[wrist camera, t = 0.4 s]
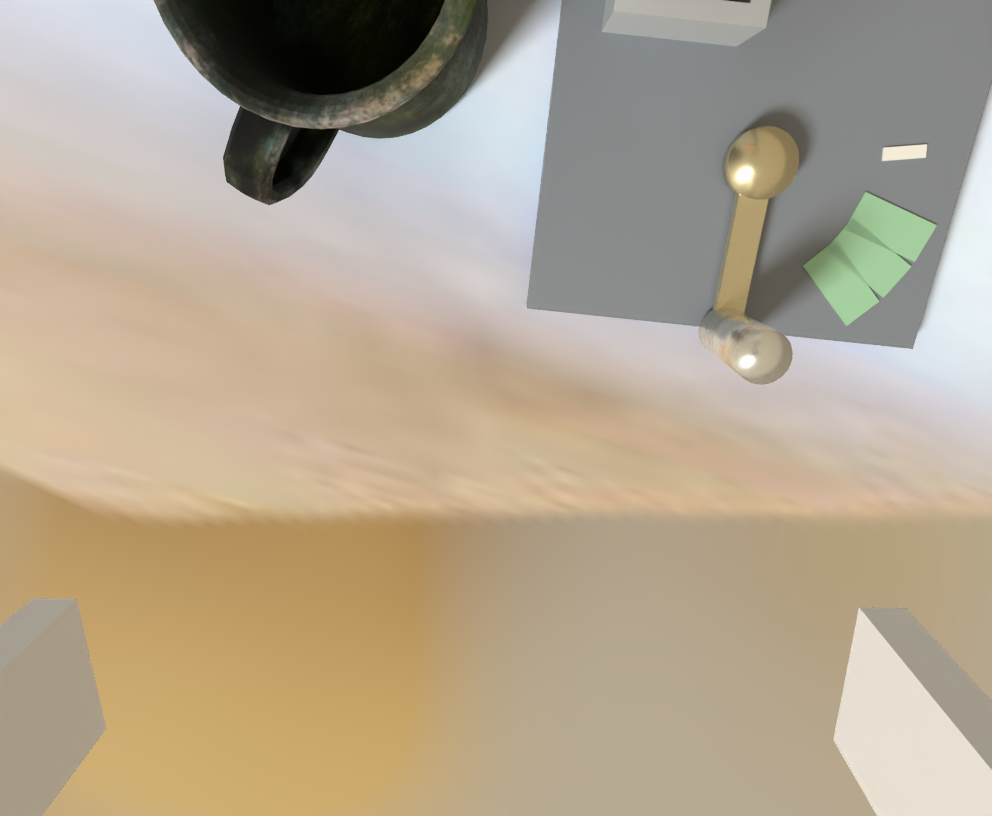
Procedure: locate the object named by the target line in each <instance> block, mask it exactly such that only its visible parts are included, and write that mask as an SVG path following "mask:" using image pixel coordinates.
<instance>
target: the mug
mask: <svg viewBox="0 0 992 816" xmlns="http://www.w3.org/2000/svg"><path fill="white" fill-rule="evenodd" d="M154 2H155V4H156V6H157V8H158V11H159V13H160V15H161V17H162V20H163V22H164V24H165V25H166V27H167V29H168V30H169V32H170V33H171V35H172V37H173V38H174V40H175V41H176V43H177V45H178V46H179V48H180V49H181V51H182V52H183V54H184V55H185V56H186V57H187V58H188V60H189V61H190V62H191V63H192V64H193V66H194V67H195V68H196V69H197V70H198V72H199V73H200V74H201V75H202V76H203V77H204V78H205V79H206V80H208V81H209V82H210V83H211V84H212V85H213V86H214V87H215V88H216V89H217V90H219V91H220V92H221V93H222V94H223V95H225V96H226V97H228V98H229V99H231V100H232V101H234V102H235V103H237V104H238V105H240V108H239V111H238V113H237V116H236V119H235V121H234V124H233V126H232V130H231V133H230V136H229V140H228V143H227V146H226V149H225V153H224V156H223V160H224V169H225V176H226V181H227V182H228V183H229V184H231V185H232V186H233V187H235V188H236V189H238V190H239V191H240V192H242V193H243V194H245V195H247V196H249V197H251V198H253V199H255V200H258V201H260V202H262V203H265V204H267V205H271V204H274V203H276V202H279V201H281V200H283V199H286V198H288V197H290V196H291V195H292V194H294V193H295V192H296V191H297V190H299V189H300V188H301V187H302V186H303V185H304V184H305V183H306V182H307V181H308V180H309V179H310V178H311V177H312V175H313V174H314V172H315V171H316V169H317V168H318V166H319V165H320V163H321V162H322V160H323V158H324V156H325V155H326V153H327V151H328V149H329V148H330V146H331V144H332V142H333V140H334V138H335V136H336V134H337V133H338V131H339V130H342V131H345V132H348V133H351V134H355V135H359V136H362V137H370V138H393V137H399V136H403V135H407V134H411V133H414V132H416V131H418V130H420V129H423V128H425V127H427V126H429V125H430V124H432V123H433V122H435V121H436V120H438V119H439V118H441V117H442V116H443V115H444V114H445V113H446V112H447V111H448V110H449V109H451V108H452V107H453V106H454V105H455V103H456V102H457V101H458V100H459V98H460V97H461V96H462V95H463V93H464V92H465V91H466V89H467V87H468V85H469V84H470V82H471V80H472V78H473V77H474V75H475V72H476V70H477V67H478V64H479V62H480V59H481V56H482V52H483V48H484V44H485V40H486V30H487V20H488V19H487V0H154Z"/></svg>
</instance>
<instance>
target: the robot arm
mask: <svg viewBox="0 0 992 816" xmlns="http://www.w3.org/2000/svg"><path fill="white" fill-rule="evenodd" d="M105 730H106V726H105V722H104V717H103V713H102V708H101V704H100V700H99V695H98V691H97V686H96V682H95V677H94V673H93V669H92V664H91V660H90V656H89V651H88V647H87V642H86V638H85V634H84V629H83V625H82V620H81V616H80V611H79V607H78V603H77V599H45V598H36V599H35V598H32V599H31V600H30V601H29V602H28V603H26V604H25V605H24V606H23V607H22V608H21V609H19V610H18V611H17V612H16V613H15V614H14V615H12V616H11V617H10V618H9V619H8V620H7V621H6V622H4V623H3V624H2V625H1V626H0V816H42V815H43V814H44V812H45V811H46V810H47V808H48V807H49V806H50V804H51V803H52V802H53V800H54V799H55V798H56V796H57V795H58V793H59V792H60V791H61V789H62V788H63V787H64V785H65V784H66V783H67V781H68V780H69V779H70V777H71V776H72V775H73V773H74V772H75V771H76V769H77V768H78V766H79V765H80V764H81V762H82V761H83V760H84V758H85V757H86V756H87V754H88V753H89V752H90V750H91V749H92V748H93V746H94V745H95V743H96V742H97V741H98V739H99V738H100V737H101V735H102V734H103V733H104V731H105ZM834 742H835V743H836V745H837V747H838V749H839V750H840V752H841V754H842V756H843V757H844V759H845V761H846V763H847V764H848V766H849V768H850V770H851V771H852V773H853V775H854V776H855V778H856V780H857V782H858V783H859V785H860V787H861V788H862V790H863V792H864V793H865V796H866V797H867V799H868V801H869V802H870V804H871V806H872V808H873V809H874V811H875V812H876V814H877V816H992V701H991V699H990V698H989V697H988V696H987V695H986V694H985V693H984V692H983V691H982V690H981V689H980V688H979V686H978V685H977V684H976V683H975V682H974V681H973V680H972V679H971V678H970V677H969V676H968V675H967V674H966V672H965V671H964V670H963V669H962V668H961V667H960V666H959V665H958V664H957V663H956V662H955V660H954V659H953V658H952V657H951V656H950V655H949V654H948V653H947V652H946V651H945V650H944V649H943V648H942V646H941V645H940V644H939V643H938V642H937V641H936V640H935V639H934V638H933V637H932V636H931V635H930V633H929V632H928V631H927V630H926V629H925V628H924V627H923V626H922V625H921V624H920V623H919V622H918V621H917V619H916V618H915V617H914V616H913V615H912V614H911V613H910V612H909V611H908V610H907V609H906V608H865V607H859V610H858V616H857V621H856V627H855V631H854V636H853V642H852V647H851V652H850V657H849V662H848V667H847V672H846V678H845V683H844V688H843V693H842V699H841V704H840V709H839V714H838V719H837V725H836V729H835V735H834Z"/></svg>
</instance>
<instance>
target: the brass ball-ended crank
mask: <svg viewBox="0 0 992 816" xmlns="http://www.w3.org/2000/svg"><path fill="white" fill-rule="evenodd" d="M798 166H799V151H798V147H797V145H796V143H795V141H794V139H793V138H792V137H791V135H789V134H788V133H787V132H786V131H784V130H783V129H781V128H778V127H774V126H762V127H758V128H754V129H750V130H748V131H745V132H743V133H742V134H740V135H739V136H737V137H736V138H735V139H734V140H733V141H732V143H731V144H730V145H729V147H728V149H727V150H726V153H725V155H724V159H723V165H722V171H723V176H724V180H725V182H726V184H727V186H728V187H729V189H730V190H731V191H732V192H733V193H735V199H734V204H733V209H732V214H731V219H730V224H729V230H728V235H727V240H726V245H725V250H724V255H723V260H722V265H721V270H720V275H719V280H718V285H717V290H716V295H715V300H714V305H713V309H712V310H711V311H709V312H708V313H707V314H706V315H705V316H704V317H703V319H702V321H701V323H700V326H699V338H700V341H701V342H702V344H703V345H704V346H705V347H706V348H707V349H708V350H709V351H711V352H712V353H713V354H714V355H715V356H717V357H718V358H719V359H720V360H722V361H723V362H724V363H725V364H727V365H728V366H729V367H730V368H732V369H733V370H734V371H735V372H736V373H738V374H739V375H740V376H741V377H743V378H744V379H745V380H747V381H748V382H751V383H754V384H768V383H771V382H774V381H776V380H777V379H779V378H780V377H781V376H783V375H784V374H785V372H786V371H787V370H788V368H789V366H790V364H791V361H792V347H791V344H790V342H789V340H788V339H787V338H786V337H785V336H784V335H783V334H781V333H780V332H778V331H776V330H774V329H772V328H770V327H768V326H767V325H765V324H763V323H761V322H759V321H757V320H755V319H753V318H751V317H750V316H748V315H746V314H744V311H745V307H746V302H747V297H748V293H749V288H750V283H751V279H752V274H753V269H754V265H755V260H756V255H757V251H758V246H759V241H760V237H761V232H762V227H763V223H764V218H765V213H766V209H767V204H768V199H769V198H772V197H775V196H776V195H778V194H780V193H781V192H783V191H784V190H785V189H786V188H787V187H788V186H789V185H790V184H791V182H792V181H793V179H794V177H795V175H796V173H797V170H798Z"/></svg>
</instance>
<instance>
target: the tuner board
mask: <svg viewBox="0 0 992 816" xmlns="http://www.w3.org/2000/svg"><path fill="white" fill-rule="evenodd" d="M991 82H992V0H562V5H561V14H560V22H559V31H558V40H557V48H556V57H555V66H554V74H553V83H552V92H551V100H550V109H549V117H548V126H547V135H546V143H545V152H544V161H543V169H542V178H541V187H540V195H539V204H538V212H537V221H536V230H535V238H534V247H533V256H532V264H531V273H530V282H529V290H528V299H527V308H529V309H538V310H548V311H557V312H567V313H576V314H586V315H595V316H605V317H614V318H624V319H633V320H643V321H653V322H662V323H672V324H681V325H691V326H700V323H701V321H702V319H703V317H704V316H705V315H706V314H707V313H708V312H709V311H711V310H712V309H713V305H714V300H715V295H716V290H717V285H718V280H719V275H720V270H721V265H722V260H723V255H724V250H725V245H726V240H727V235H728V230H729V224H730V219H731V214H732V209H733V204H734V199H735V193H733V192H732V191H731V190H730V189H729V187H728V186H727V184H726V182H725V180H724V176H723V171H722V165H723V159H724V155H725V153H726V150H727V149H728V147H729V145H730V144H731V143H732V141H733V140H734V139H735V138H736V137H737V136H739V135H740V134H742V133H743V132H745V131H748V130H750V129H754V128H758V127H762V126H774V127H778V128H781V129H783V130H784V131H786V132H787V133H788V134H789V135H791V137H792V138H793V139H794V141H795V143H796V145H797V147H798V151H799V166H798V170H797V173H796V175H795V177H794V179H793V181H792V182H791V184H790V185H789V186H788V187H787V188H786V189H785V190H784V191H783V192H781V193H780V194H778V195H776V196H775V197H772V198H769V199H768V204H767V209H766V213H765V218H764V223H763V227H762V232H761V237H760V241H759V246H758V251H757V255H756V260H755V265H754V269H753V274H752V279H751V283H750V288H749V293H748V297H747V302H746V307H745V311H744V314H746V315H748V316H750V317H751V318H753V319H755V320H757V321H759V322H761V323H763V324H765V325H767V326H768V327H770V328H772V329H774V330H776V331H778V332H780V333H781V334H783V335H786V336H796V337H805V338H815V339H824V340H834V341H843V342H853V343H862V344H872V345H881V346H891V347H900V348H910V349H913V346H914V343H915V339H916V336H917V333H918V329H919V326H920V322H921V319H922V316H923V312H924V309H925V305H926V302H927V299H928V295H929V292H930V288H931V285H932V282H933V278H934V275H935V272H936V268H937V265H938V261H939V258H940V255H941V251H942V248H943V244H944V241H945V238H946V234H947V231H948V228H949V224H950V221H951V217H952V214H953V211H954V207H955V204H956V200H957V197H958V194H959V190H960V187H961V183H962V180H963V177H964V173H965V170H966V167H967V163H968V160H969V156H970V153H971V150H972V146H973V143H974V139H975V136H976V133H977V129H978V126H979V123H980V119H981V116H982V112H983V109H984V106H985V102H986V99H987V95H988V92H989V89H990V85H991Z"/></svg>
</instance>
